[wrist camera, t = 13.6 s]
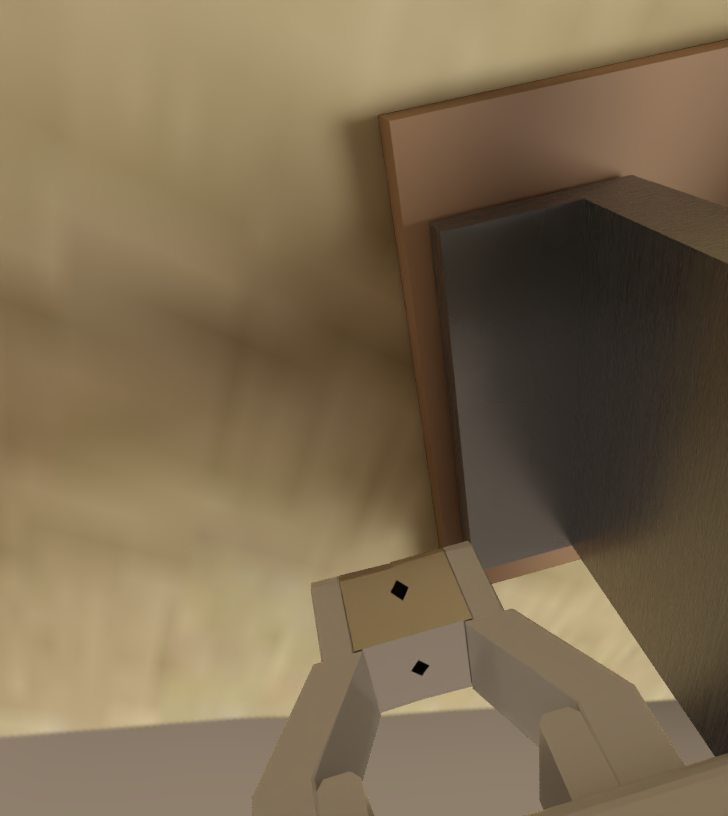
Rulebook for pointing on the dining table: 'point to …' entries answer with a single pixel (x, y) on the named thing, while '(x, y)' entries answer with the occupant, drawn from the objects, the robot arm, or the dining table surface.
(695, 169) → the shelf
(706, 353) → the bookend
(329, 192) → the dining table surface
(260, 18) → the dining table surface
